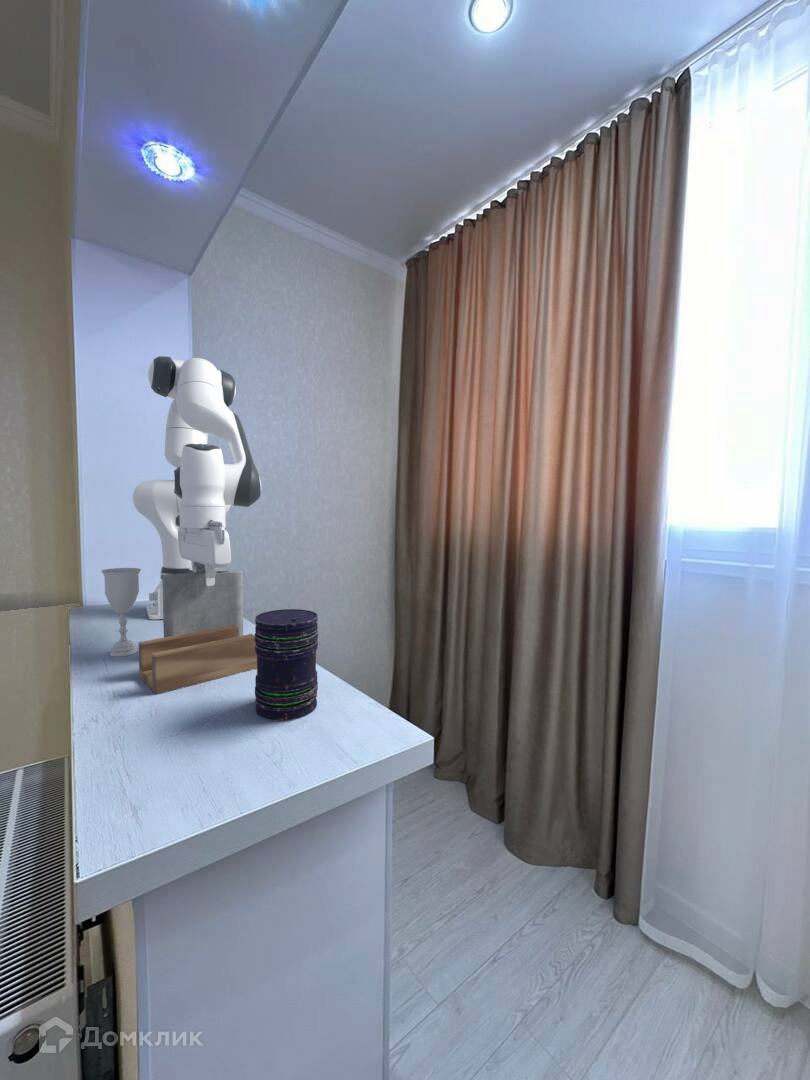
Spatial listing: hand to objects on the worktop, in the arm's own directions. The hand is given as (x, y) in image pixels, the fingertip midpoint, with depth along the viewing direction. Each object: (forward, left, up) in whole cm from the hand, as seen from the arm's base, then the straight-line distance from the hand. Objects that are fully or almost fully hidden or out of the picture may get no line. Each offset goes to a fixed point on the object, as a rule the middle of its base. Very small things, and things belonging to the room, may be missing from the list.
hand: (204, 583), depth 94 cm
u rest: (+11, -5, -15) cm, 19 cm away
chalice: (-11, -13, -16) cm, 23 cm away
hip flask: (0, 0, -15) cm, 15 cm away
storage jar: (+35, 0, -16) cm, 38 cm away
